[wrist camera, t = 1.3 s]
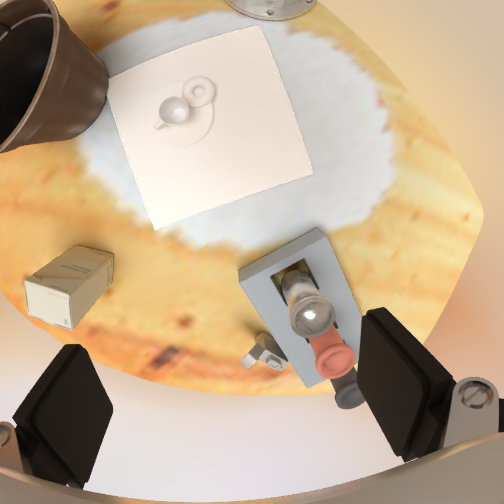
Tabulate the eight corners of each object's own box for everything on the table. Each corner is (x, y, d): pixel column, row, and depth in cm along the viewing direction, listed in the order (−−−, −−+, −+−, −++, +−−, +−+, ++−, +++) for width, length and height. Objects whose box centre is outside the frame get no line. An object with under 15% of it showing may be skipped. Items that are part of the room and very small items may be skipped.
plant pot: (8, 110, 27) (-70, 106, 12) (79, 20, 25) (17, -27, 10) (66, 180, 32) (-19, 202, 17) (149, 82, 29) (94, 34, 14)
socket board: (316, 227, 36) (326, 235, 32) (365, 337, 42) (375, 352, 38) (238, 270, 37) (239, 283, 33) (301, 371, 43) (307, 388, 39)
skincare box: (114, 253, 35) (72, 294, 24) (112, 284, 37) (74, 332, 25) (73, 243, 34) (23, 278, 23) (73, 274, 36) (27, 316, 24)
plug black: (343, 340, 37) (365, 378, 29) (352, 359, 38) (373, 397, 30) (315, 355, 37) (331, 396, 30) (325, 373, 38) (342, 413, 31)
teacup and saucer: (207, 70, 29) (205, 60, 25) (229, 131, 32) (230, 127, 28) (137, 98, 29) (126, 91, 25) (157, 158, 32) (149, 159, 28)
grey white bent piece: (284, 344, 41) (294, 381, 34) (276, 352, 41) (284, 389, 34) (245, 320, 39) (248, 356, 32) (237, 328, 40) (238, 365, 32)
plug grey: (304, 259, 33) (325, 290, 25) (319, 289, 34) (341, 324, 27) (271, 277, 33) (282, 312, 26) (287, 305, 35) (301, 345, 27)
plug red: (326, 303, 35) (348, 340, 27) (337, 328, 36) (360, 366, 28) (295, 320, 35) (310, 360, 28) (308, 343, 36) (325, 384, 29)
